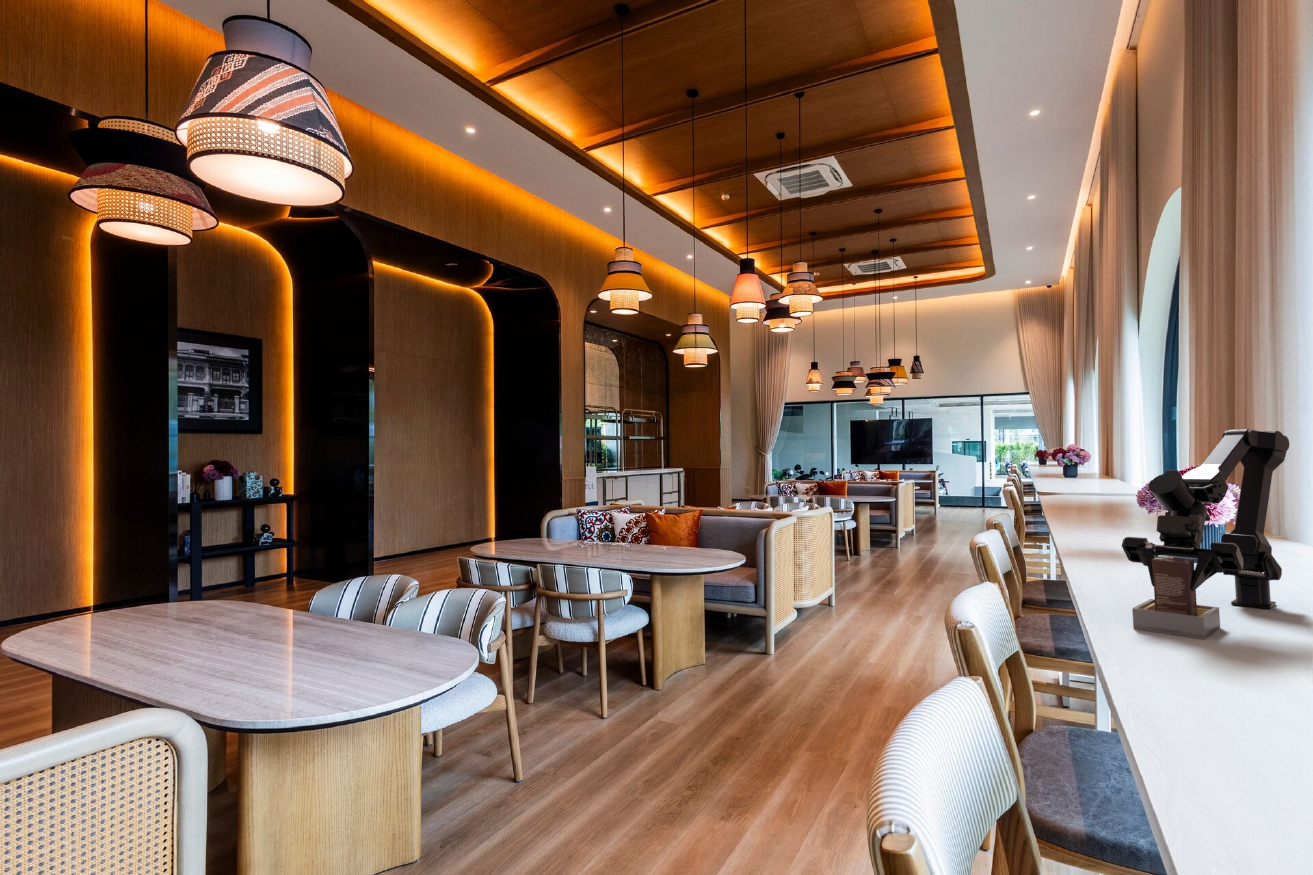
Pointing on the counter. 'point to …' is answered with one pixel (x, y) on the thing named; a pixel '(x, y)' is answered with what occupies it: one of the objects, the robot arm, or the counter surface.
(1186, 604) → the box
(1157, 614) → the tray
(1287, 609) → the counter surface
